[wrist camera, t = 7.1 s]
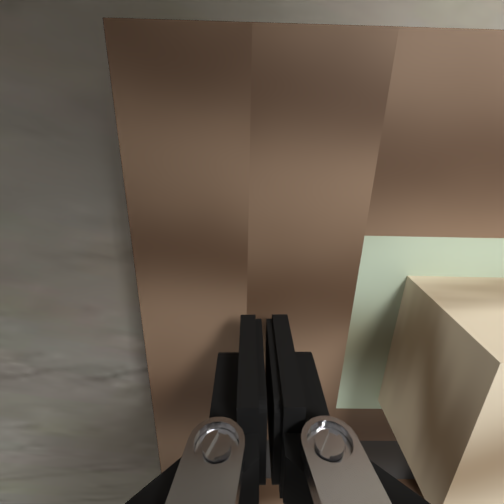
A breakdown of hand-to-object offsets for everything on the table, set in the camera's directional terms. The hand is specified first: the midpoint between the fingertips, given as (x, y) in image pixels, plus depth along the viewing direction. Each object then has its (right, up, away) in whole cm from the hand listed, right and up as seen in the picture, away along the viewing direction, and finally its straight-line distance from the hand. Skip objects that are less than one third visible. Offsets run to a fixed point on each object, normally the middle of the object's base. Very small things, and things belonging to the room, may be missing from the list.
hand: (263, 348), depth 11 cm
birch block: (+8, 0, +1) cm, 8 cm away
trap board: (+7, -1, +5) cm, 9 cm away
